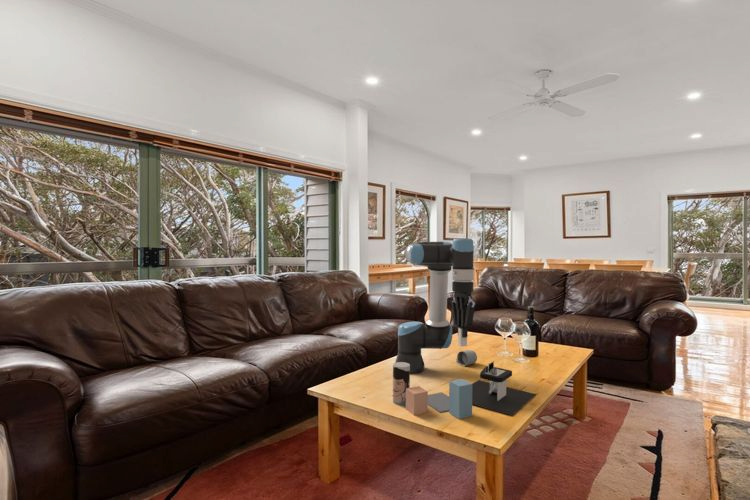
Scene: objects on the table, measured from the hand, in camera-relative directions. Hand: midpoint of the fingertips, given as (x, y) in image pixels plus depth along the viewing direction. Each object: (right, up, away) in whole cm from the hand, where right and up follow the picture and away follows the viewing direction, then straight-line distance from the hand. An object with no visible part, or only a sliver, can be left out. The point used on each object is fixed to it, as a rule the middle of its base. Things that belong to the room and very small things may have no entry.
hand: (462, 345), depth 146 cm
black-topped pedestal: (+18, -26, +21) cm, 38 cm away
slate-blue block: (0, -27, +4) cm, 27 cm away
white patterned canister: (-21, -26, +16) cm, 37 cm away
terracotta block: (-16, -27, +7) cm, 32 cm away
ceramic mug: (+16, -25, +66) cm, 72 cm away
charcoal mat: (-5, -26, +15) cm, 31 cm away
